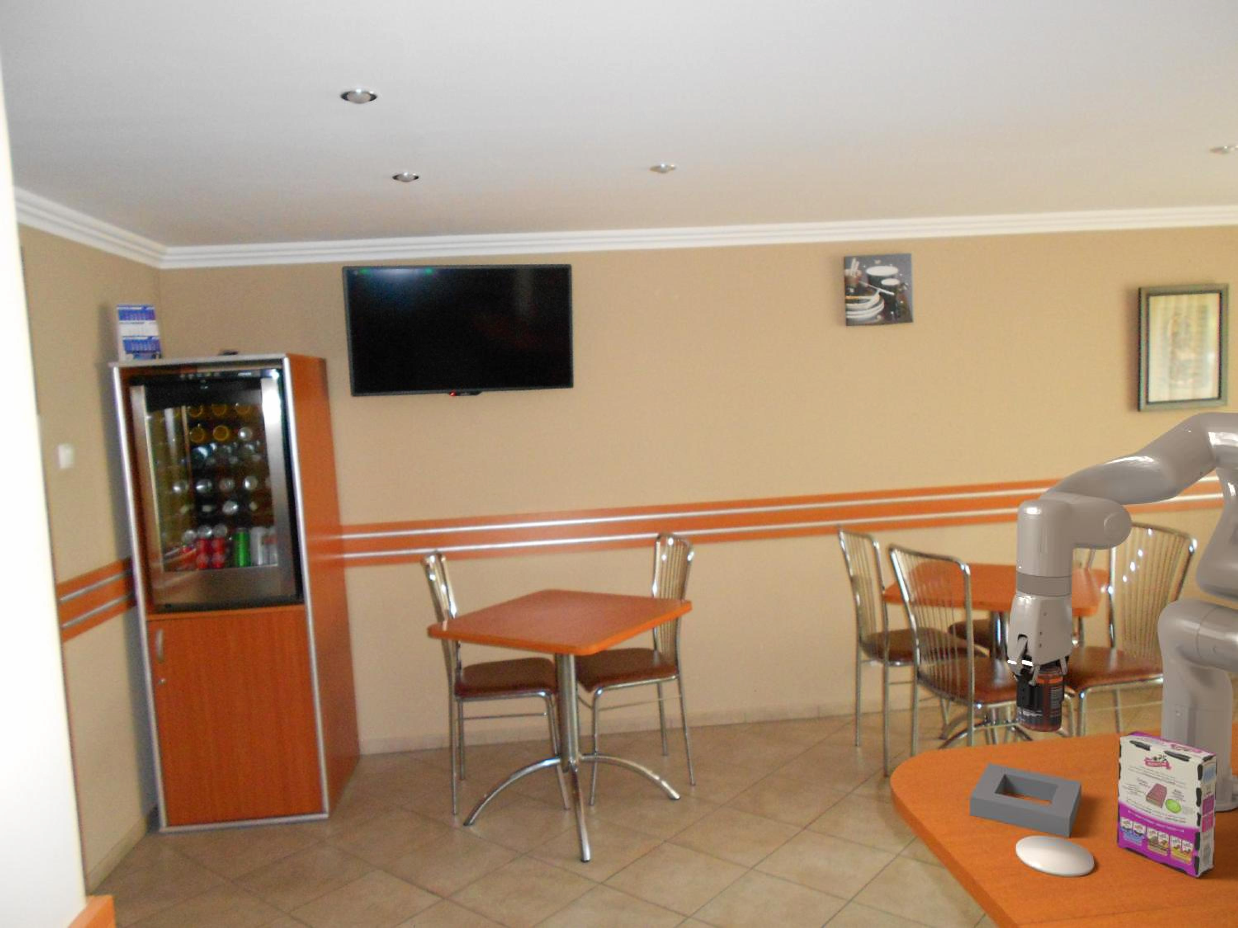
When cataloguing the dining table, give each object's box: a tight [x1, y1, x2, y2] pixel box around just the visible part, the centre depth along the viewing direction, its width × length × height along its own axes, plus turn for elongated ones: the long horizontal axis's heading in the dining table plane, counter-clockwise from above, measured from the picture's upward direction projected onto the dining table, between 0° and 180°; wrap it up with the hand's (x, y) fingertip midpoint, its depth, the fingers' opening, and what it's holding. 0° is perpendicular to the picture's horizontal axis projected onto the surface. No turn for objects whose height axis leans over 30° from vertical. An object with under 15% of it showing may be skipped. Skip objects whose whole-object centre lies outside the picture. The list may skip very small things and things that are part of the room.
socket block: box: [969, 763, 1082, 838], centre depth 145 cm, size 14×14×3 cm
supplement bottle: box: [1017, 657, 1063, 733], centre depth 136 cm, size 6×6×11 cm
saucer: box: [1015, 835, 1095, 878], centre depth 130 cm, size 10×10×1 cm
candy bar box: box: [1116, 730, 1217, 879], centre depth 129 cm, size 11×5×16 cm, turn 34°
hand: (1040, 702), depth 136 cm, fingers closed on supplement bottle, 6 cm apart
